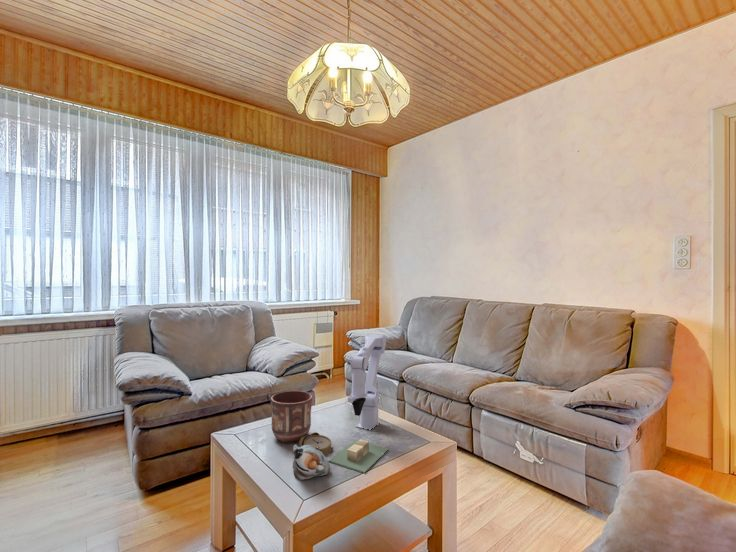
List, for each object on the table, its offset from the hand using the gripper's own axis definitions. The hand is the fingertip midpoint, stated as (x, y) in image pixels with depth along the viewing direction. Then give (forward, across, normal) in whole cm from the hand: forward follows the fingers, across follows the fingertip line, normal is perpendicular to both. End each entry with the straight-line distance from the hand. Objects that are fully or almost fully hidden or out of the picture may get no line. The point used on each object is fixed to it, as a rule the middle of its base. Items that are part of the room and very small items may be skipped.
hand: (357, 415), depth 158 cm
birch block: (+8, -8, -8) cm, 14 cm away
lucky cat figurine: (+12, -32, +1) cm, 34 cm away
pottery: (+11, -12, +26) cm, 31 cm away
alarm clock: (+12, -15, +12) cm, 22 cm away
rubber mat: (+11, -12, -8) cm, 18 cm away
